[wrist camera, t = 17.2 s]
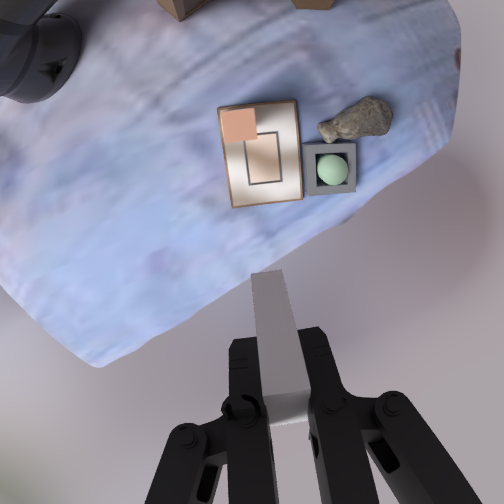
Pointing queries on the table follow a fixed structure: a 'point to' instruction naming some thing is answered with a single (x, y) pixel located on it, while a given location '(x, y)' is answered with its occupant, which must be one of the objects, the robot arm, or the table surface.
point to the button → (331, 168)
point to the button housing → (310, 167)
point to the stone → (358, 121)
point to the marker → (239, 125)
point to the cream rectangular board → (265, 157)
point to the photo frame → (184, 3)
